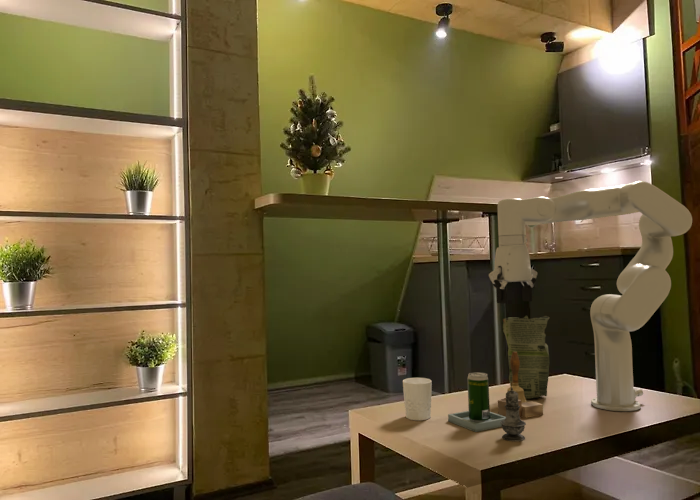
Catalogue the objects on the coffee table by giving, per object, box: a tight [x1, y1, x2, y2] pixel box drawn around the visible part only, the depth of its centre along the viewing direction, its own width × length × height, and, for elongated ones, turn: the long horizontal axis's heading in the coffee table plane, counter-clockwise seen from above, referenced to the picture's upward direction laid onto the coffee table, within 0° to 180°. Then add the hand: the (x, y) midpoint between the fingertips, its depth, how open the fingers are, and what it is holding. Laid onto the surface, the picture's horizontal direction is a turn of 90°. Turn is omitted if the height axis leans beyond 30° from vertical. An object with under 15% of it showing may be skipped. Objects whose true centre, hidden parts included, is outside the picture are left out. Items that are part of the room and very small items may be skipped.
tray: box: [447, 410, 506, 433], centre depth 141 cm, size 11×11×2 cm
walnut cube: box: [497, 397, 522, 418], centre depth 146 cm, size 4×4×4 cm
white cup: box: [402, 377, 433, 421], centre depth 149 cm, size 8×8×10 cm
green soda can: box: [466, 372, 491, 423], centre depth 142 cm, size 5×5×12 cm
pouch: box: [502, 315, 550, 400], centre depth 169 cm, size 11×12×25 cm
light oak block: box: [522, 400, 544, 418], centre depth 148 cm, size 6×4×3 cm, turn 112°
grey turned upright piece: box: [500, 386, 527, 442], centre depth 129 cm, size 6×6×12 cm
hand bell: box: [506, 352, 528, 403], centre depth 156 cm, size 8×8×16 cm
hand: (514, 302), depth 154 cm, fingers open, 9 cm apart
